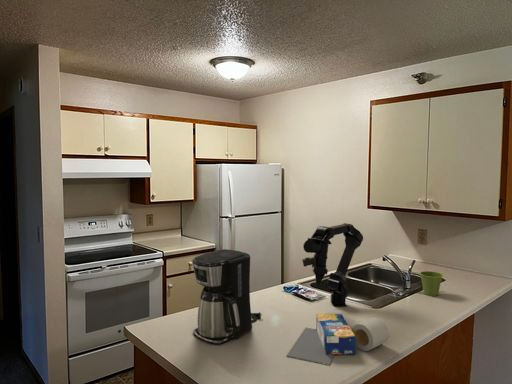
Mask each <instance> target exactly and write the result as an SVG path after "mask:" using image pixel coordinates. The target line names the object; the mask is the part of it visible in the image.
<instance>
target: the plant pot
mask: <svg viewBox="0 0 512 384" xmlns="http://www.w3.org/2000/svg"><path fill="white" fill-rule="evenodd" d="M419 276H420V279H421V285H422V290H423V294H424V295H427V296H429V297H436V296H439V293H440V288H441V282H442V279H443V277H444V274H443V273H441V272H437V271H431V270H429V271H428V270H424V271H420V272H419Z"/></svg>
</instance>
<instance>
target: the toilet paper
mask: <svg viewBox="0 0 512 384" xmlns="http://www.w3.org/2000/svg"><path fill="white" fill-rule="evenodd" d="M351 330H352V332H353V333H354V335H355V347H357V349H358V350H360V349H361V350H360V351H362V350H363V351H362V352H369V351H370V350H372V349H374V348H377V347H379V346H381V345H383V344H384V343H386V342H387V341H388V338H389V337H390V335H389V333H390V332H389V330H388V327H387V325H386V324H385V322H384V321H383V320H382V319H380V318H379V317H370V318H368V319H365V320H363V321H362V322H358V323H357V324H355V325H353V326H352V328H351Z"/></svg>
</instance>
